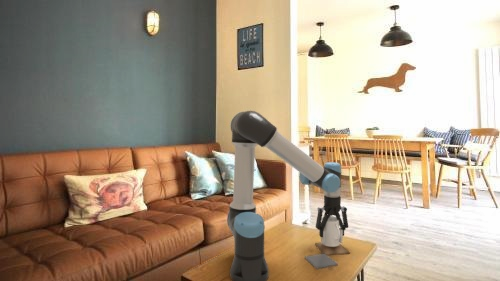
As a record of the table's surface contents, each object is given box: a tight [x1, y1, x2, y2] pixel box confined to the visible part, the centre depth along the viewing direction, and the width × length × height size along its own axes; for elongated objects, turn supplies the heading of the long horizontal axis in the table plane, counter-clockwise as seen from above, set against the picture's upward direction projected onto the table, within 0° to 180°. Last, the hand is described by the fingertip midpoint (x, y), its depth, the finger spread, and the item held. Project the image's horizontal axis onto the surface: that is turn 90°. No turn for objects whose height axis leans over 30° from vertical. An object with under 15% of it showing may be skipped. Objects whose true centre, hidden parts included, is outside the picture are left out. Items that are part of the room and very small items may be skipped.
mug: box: [321, 215, 341, 247], centre depth 135 cm, size 12×8×12 cm
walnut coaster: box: [314, 242, 351, 257], centre depth 135 cm, size 12×12×1 cm
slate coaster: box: [304, 253, 339, 270], centre depth 123 cm, size 10×10×1 cm
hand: (331, 242), depth 135 cm, fingers closed on mug, 8 cm apart
